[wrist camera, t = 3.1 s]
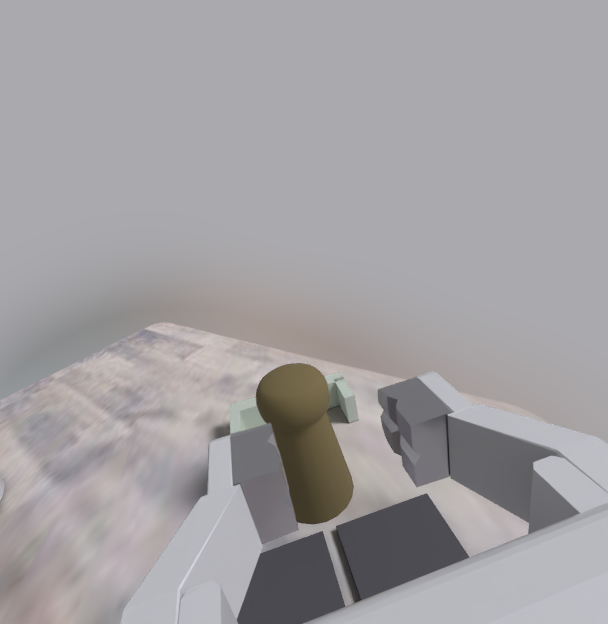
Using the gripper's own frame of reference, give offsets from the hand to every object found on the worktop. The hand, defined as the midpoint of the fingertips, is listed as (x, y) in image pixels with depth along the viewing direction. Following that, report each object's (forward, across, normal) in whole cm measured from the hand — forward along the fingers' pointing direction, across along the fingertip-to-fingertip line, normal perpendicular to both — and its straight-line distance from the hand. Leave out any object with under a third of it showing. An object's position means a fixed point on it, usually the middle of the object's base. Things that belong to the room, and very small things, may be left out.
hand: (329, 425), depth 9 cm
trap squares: (+7, 0, +18) cm, 19 cm away
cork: (+14, 0, +18) cm, 23 cm away
